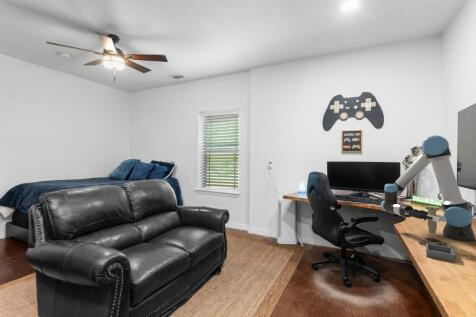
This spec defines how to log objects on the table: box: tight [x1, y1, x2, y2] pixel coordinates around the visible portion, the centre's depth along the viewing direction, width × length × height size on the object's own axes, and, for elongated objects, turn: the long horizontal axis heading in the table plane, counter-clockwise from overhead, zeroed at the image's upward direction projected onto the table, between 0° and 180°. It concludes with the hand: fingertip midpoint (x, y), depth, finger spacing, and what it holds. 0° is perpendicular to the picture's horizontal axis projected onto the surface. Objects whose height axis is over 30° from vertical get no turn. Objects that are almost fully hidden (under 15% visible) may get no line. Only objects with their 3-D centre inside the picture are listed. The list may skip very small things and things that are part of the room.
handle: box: [424, 205, 440, 235], centre depth 135 cm, size 5×6×15 cm
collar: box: [418, 236, 449, 247], centre depth 135 cm, size 10×8×3 cm
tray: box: [425, 243, 456, 263], centre depth 122 cm, size 12×11×4 cm
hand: (442, 219), depth 130 cm, fingers closed on handle, 3 cm apart
